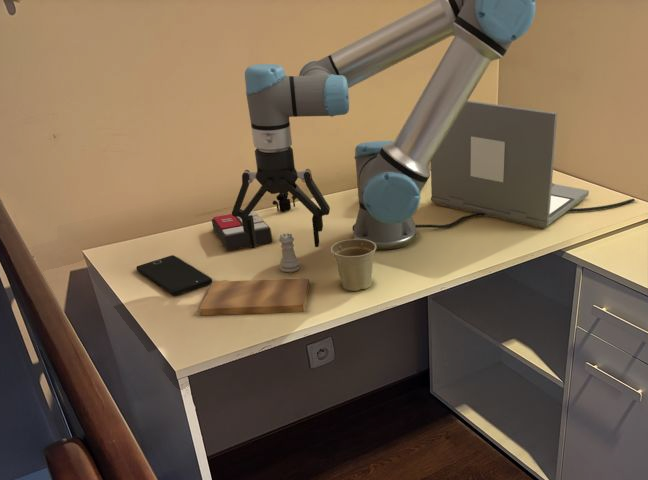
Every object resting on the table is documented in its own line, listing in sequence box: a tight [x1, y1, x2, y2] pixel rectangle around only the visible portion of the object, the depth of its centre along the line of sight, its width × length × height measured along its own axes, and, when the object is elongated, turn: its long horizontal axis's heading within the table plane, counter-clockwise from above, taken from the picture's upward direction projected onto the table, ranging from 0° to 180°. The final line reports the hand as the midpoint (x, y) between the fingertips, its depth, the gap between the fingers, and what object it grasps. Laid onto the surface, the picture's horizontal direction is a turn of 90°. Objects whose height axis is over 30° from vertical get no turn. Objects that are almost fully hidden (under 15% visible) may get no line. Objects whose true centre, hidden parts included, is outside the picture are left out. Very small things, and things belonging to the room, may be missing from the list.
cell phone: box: [135, 254, 213, 296], centre depth 148 cm, size 9×18×1 cm, turn 46°
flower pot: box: [330, 238, 377, 292], centre depth 143 cm, size 9×9×9 cm
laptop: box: [430, 100, 590, 229], centre depth 180 cm, size 35×26×28 cm
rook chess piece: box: [278, 232, 301, 274], centre depth 150 cm, size 4×4×8 cm
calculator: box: [211, 209, 273, 251], centre depth 167 cm, size 11×4×15 cm
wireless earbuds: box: [272, 192, 297, 213], centre depth 181 cm, size 7×2×5 cm, turn 131°
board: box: [199, 277, 311, 316], centre depth 139 cm, size 20×12×2 cm, turn 94°
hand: (285, 245), depth 149 cm, fingers open, 13 cm apart
